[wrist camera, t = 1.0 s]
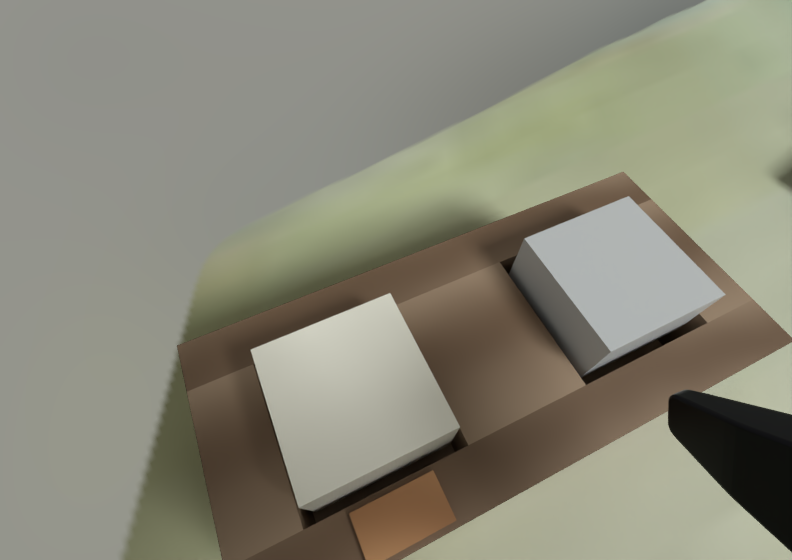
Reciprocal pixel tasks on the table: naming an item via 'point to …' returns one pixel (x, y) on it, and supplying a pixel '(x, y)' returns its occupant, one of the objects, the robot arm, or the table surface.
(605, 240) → the grey button
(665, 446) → the table surface
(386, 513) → the brown rectangular box
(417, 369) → the cream button
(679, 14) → the table surface
